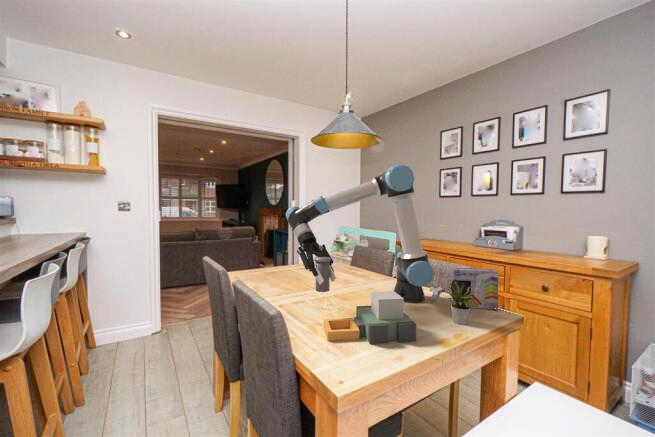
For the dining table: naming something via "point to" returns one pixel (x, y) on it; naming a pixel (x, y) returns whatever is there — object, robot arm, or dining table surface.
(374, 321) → the green corner-block plate
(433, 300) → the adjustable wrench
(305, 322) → the dining table surface
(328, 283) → the grey flared cylinder
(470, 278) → the cake pan box
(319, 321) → the dining table surface
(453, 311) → the house plant
